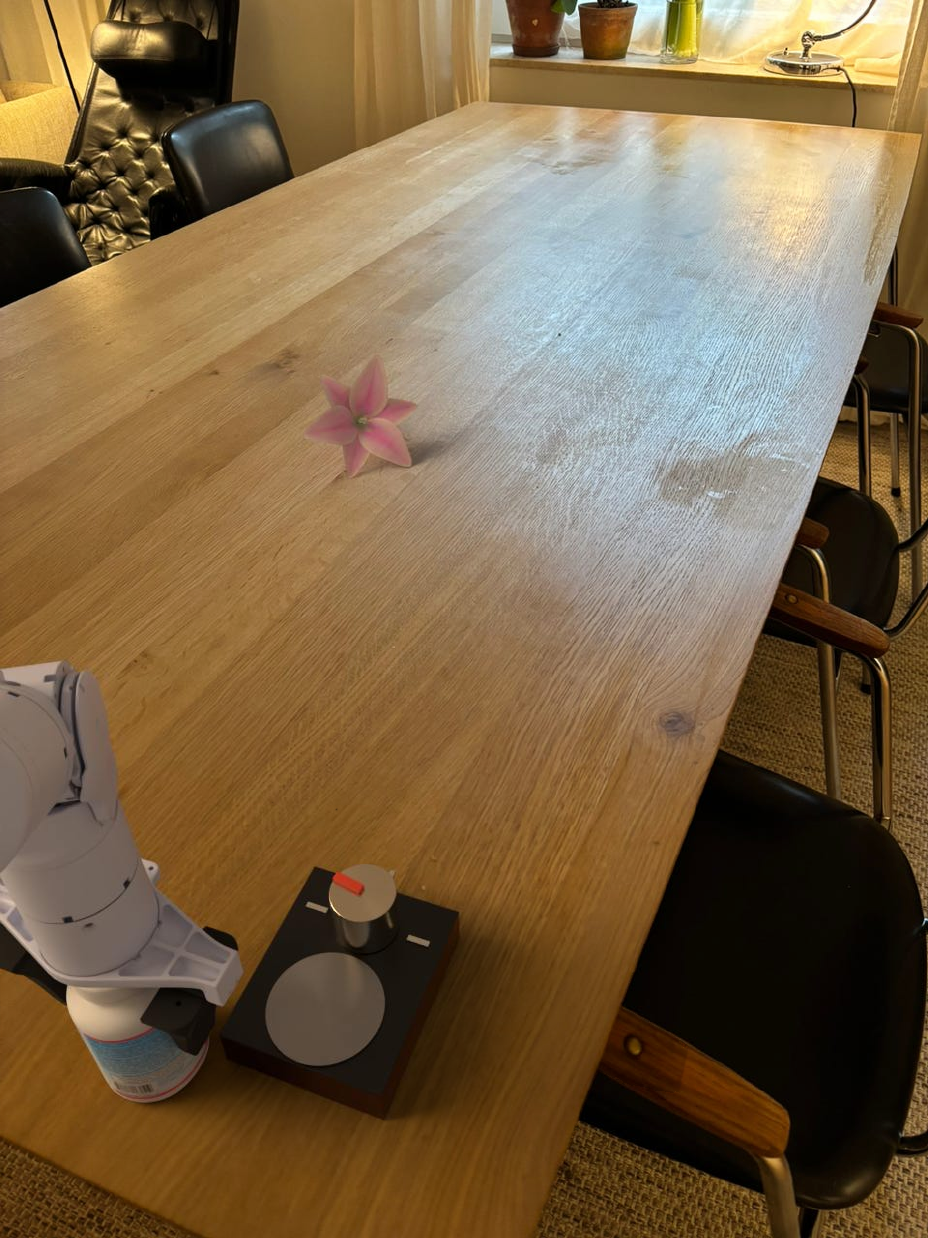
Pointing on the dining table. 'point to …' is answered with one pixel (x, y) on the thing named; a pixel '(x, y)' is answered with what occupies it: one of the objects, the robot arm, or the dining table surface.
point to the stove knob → (364, 908)
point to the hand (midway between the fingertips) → (141, 1014)
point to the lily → (362, 419)
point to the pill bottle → (131, 1043)
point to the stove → (404, 975)
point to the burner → (325, 1009)
